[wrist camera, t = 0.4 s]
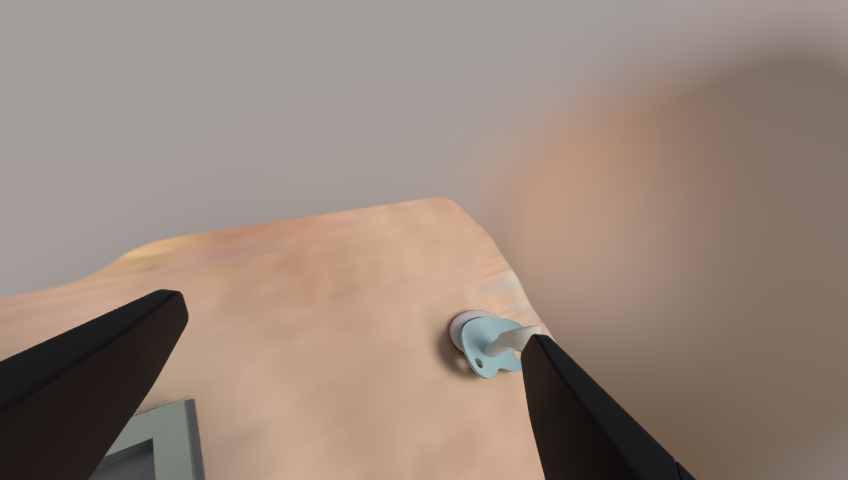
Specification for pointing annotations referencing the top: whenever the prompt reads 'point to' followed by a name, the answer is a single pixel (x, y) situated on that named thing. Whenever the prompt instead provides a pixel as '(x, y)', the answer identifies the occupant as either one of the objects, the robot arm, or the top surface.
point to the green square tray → (156, 447)
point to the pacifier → (490, 341)
